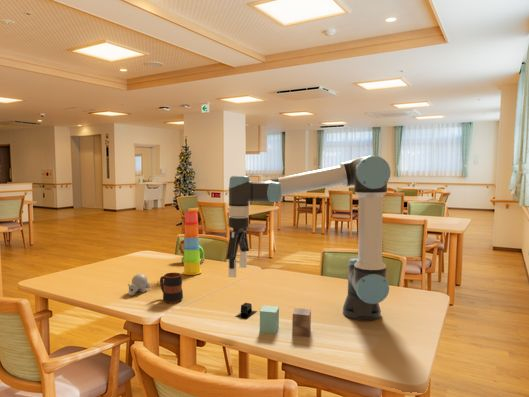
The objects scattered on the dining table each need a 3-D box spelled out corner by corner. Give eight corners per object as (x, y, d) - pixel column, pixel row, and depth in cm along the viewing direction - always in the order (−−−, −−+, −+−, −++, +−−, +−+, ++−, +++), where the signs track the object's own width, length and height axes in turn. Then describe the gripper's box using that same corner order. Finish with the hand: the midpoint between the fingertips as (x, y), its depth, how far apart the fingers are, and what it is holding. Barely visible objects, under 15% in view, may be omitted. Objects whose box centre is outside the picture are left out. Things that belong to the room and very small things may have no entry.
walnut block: (310, 330, 148) (310, 309, 147) (308, 337, 142) (309, 315, 141) (294, 328, 149) (294, 308, 148) (292, 335, 143) (292, 313, 143)
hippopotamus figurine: (125, 300, 186) (119, 285, 183) (141, 284, 196) (136, 270, 192) (137, 302, 183) (131, 287, 180) (153, 285, 193) (148, 271, 189)
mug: (167, 294, 187) (167, 270, 186) (186, 299, 180) (186, 273, 179) (153, 299, 179) (153, 274, 178) (173, 304, 173) (173, 278, 172)
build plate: (245, 309, 170) (246, 298, 170) (261, 312, 167) (261, 301, 167) (231, 319, 159) (231, 307, 159) (247, 322, 156) (247, 310, 156)
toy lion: (205, 261, 249) (204, 237, 248) (202, 264, 244) (202, 239, 242) (180, 260, 252) (180, 236, 250) (177, 262, 246) (177, 238, 245)
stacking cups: (179, 274, 219) (179, 212, 216) (187, 270, 229) (186, 210, 226) (197, 276, 217) (197, 213, 214) (204, 271, 227) (204, 211, 224)
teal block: (278, 327, 150) (278, 306, 150) (275, 333, 145) (276, 312, 144) (263, 325, 152) (263, 305, 151) (259, 332, 146) (259, 311, 145)
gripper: (238, 212, 163) (238, 263, 165) (217, 220, 139) (217, 280, 141) (256, 213, 161) (255, 264, 163) (238, 221, 137) (237, 282, 139)
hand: (237, 272), depth 152 cm, fingers open, 13 cm apart
